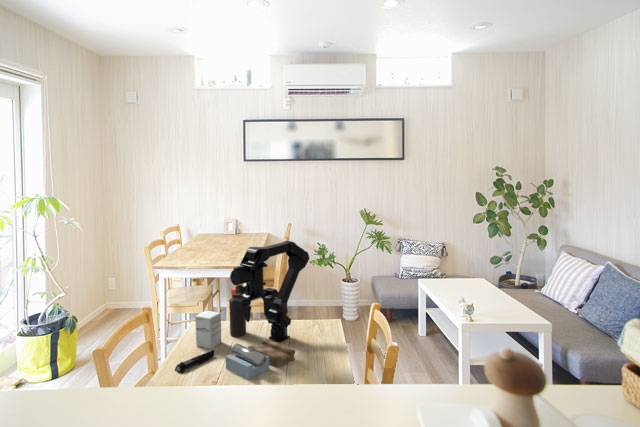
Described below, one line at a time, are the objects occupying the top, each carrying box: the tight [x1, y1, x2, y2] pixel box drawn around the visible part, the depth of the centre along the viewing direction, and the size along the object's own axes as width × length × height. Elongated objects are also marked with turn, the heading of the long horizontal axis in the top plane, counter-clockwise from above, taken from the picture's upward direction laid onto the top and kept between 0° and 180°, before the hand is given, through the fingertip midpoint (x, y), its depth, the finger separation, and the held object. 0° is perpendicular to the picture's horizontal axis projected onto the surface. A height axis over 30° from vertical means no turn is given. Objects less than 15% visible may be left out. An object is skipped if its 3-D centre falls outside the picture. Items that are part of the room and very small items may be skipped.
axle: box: [231, 343, 266, 366], centre depth 143 cm, size 14×4×4 cm, turn 50°
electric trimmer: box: [174, 349, 215, 374], centre depth 147 cm, size 4×16×3 cm, turn 142°
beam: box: [247, 338, 296, 368], centre depth 151 cm, size 16×9×4 cm, turn 50°
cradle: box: [225, 348, 270, 380], centre depth 143 cm, size 12×10×4 cm
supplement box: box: [195, 310, 222, 349], centre depth 163 cm, size 7×7×13 cm
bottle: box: [228, 286, 247, 338], centre depth 172 cm, size 7×7×20 cm
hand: (256, 318), depth 158 cm, fingers open, 9 cm apart
